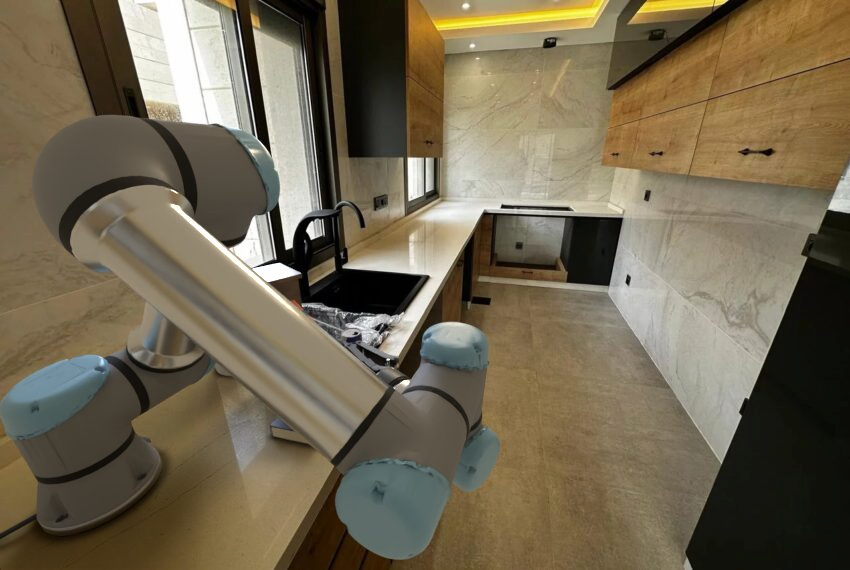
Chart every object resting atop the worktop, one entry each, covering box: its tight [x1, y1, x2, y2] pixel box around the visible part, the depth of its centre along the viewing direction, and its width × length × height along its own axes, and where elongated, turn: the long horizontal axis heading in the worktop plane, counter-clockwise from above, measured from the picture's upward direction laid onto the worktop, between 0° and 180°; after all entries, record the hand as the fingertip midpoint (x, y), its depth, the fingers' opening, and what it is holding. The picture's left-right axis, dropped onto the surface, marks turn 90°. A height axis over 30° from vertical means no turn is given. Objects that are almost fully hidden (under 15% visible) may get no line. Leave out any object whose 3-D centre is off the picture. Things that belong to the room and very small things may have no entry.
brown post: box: [252, 262, 303, 309], centre depth 76 cm, size 10×11×30 cm
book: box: [269, 416, 311, 446], centre depth 72 cm, size 14×10×3 cm
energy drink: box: [340, 327, 363, 344], centre depth 85 cm, size 5×5×12 cm
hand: (315, 341), depth 63 cm, fingers closed on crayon, 3 cm apart
